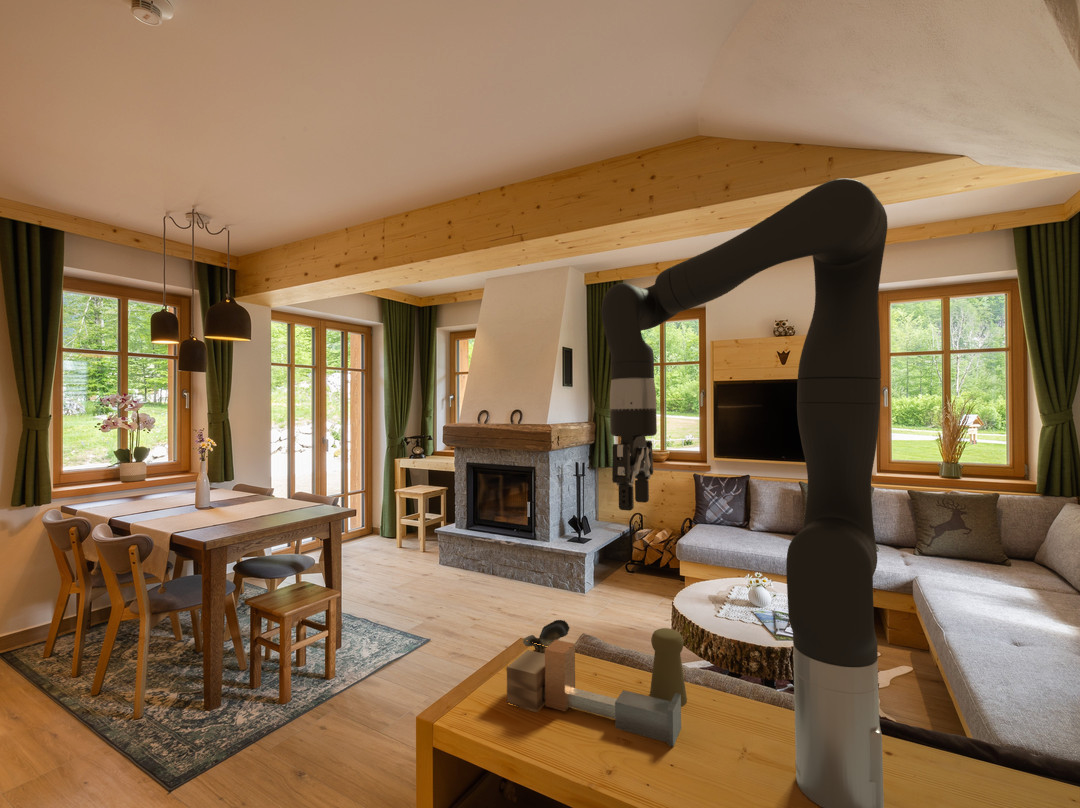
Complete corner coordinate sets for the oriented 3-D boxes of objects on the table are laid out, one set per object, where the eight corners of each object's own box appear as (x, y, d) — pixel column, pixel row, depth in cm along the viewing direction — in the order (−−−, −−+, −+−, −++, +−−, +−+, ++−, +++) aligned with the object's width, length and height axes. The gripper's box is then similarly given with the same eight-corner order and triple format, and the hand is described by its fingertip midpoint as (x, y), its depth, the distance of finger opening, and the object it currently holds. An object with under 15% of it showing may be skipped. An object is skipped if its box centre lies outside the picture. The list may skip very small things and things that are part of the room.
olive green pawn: (688, 710, 83) (687, 640, 84) (649, 706, 85) (648, 637, 85) (685, 690, 89) (684, 625, 90) (649, 687, 90) (648, 622, 91)
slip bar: (636, 714, 81) (635, 656, 81) (627, 728, 78) (627, 667, 78) (533, 688, 90) (533, 635, 90) (522, 699, 86) (521, 644, 86)
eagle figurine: (564, 663, 97) (578, 635, 105) (542, 631, 98) (558, 605, 106) (534, 678, 100) (550, 649, 108) (512, 646, 101) (530, 620, 109)
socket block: (556, 691, 89) (555, 656, 89) (536, 712, 83) (536, 674, 83) (527, 684, 92) (527, 649, 92) (507, 704, 86) (506, 666, 86)
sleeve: (681, 728, 79) (680, 694, 79) (673, 746, 74) (672, 711, 74) (624, 713, 83) (624, 681, 83) (614, 730, 78) (613, 696, 78)
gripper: (642, 406, 78) (644, 515, 78) (666, 407, 91) (668, 500, 91) (595, 407, 82) (597, 511, 81) (624, 407, 94) (626, 498, 94)
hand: (634, 505), depth 86 cm, fingers open, 8 cm apart
